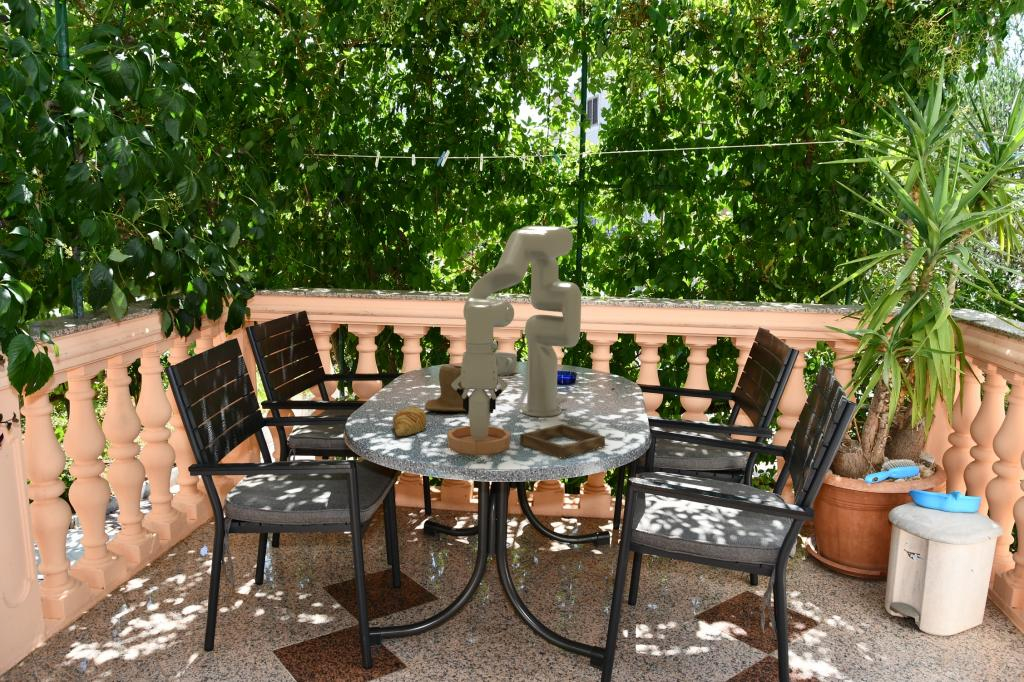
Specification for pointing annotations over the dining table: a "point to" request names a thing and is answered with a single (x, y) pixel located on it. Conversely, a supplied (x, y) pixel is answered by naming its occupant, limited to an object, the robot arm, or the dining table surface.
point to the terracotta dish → (478, 441)
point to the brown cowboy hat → (447, 391)
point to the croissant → (409, 421)
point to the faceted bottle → (479, 414)
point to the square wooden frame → (539, 443)
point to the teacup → (506, 362)
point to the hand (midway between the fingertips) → (479, 411)
